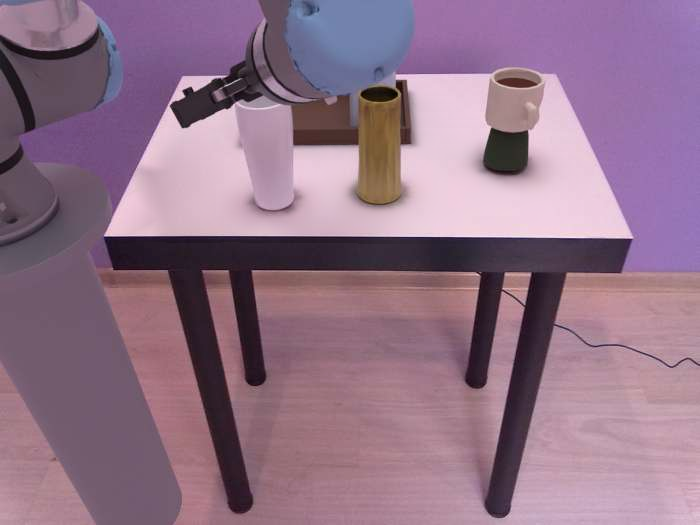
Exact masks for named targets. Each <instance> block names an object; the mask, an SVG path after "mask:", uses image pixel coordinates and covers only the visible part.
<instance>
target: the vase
mask: <svg viewBox="0 0 700 525" xmlns="http://www.w3.org/2000/svg"><path fill="white" fill-rule="evenodd" d="M400 109H401V93H400V91H399V90H398V89H397V88H395V87H392V86H388V85H373V86H371V87H368V88H366V89H363V90H361V91H359V93H358V129H359V144H358V168H357V170H358V172H357V185H356V194H357V196H358V197H359V198H360V200H362V201H364V202H367V203H369V204H374V205H383V204H389V203H393V202H394V201H396V200H398V199H399V198H400V196H401V195H402V192H403V186H402V179H401V178H402V177H401V176H402V172H401V171H402V159H401V158H402V157H401V156H402V152H401V151H402V147H401V146H402V144H401V140H400Z"/></svg>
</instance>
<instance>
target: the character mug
mask: <svg viewBox="0 0 700 525" xmlns="http://www.w3.org/2000/svg"><path fill="white" fill-rule="evenodd" d="M545 86H546V77H545V75H544V74H542V73H541V72H539V71H536V70H534V69H531V68H525V67H516V66H515V67H504V68H503V67H502V68H500V69H496V70H495V71H493V72H492V73H491V74H490V77H489V81H488V88H487V89H488V90H487V98H486V108H485V115H484V116H485V118H484V119H485V122H486V124H487V125H488V126H489V127H491V128H490V129H489V133H488V137H487V140H486V144H485V148H484V152H483V159H482V162H483V164H485V166H486V167H487V168H490V169H492V170H496V171H503V172H504V171H505V172H507V171H509V172H511V171H519V170H524V169H525V168H526V167H527V166H528V163H529V142H530V141H529V140H530V135H529V131H533V129H535V126H536V125H537V124H538V123H539V121H540V107H541V104H542V102H543V99H544V93H545Z"/></svg>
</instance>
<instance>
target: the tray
mask: <svg viewBox="0 0 700 525" xmlns="http://www.w3.org/2000/svg"><path fill="white" fill-rule="evenodd" d="M396 88H397V89H398V90H399V91H400V93H401V109H400V140H401V145H410V144H411V140H412V124H411V123H412V122H411V121H412V120H411V113H410V112H411V111H410V101H409V89H408V79H396ZM291 108H292V117H293V146H295V145H305V146H306V145H359V129H358V127H351V126H350V97H349V96H337V101H336V102H335V103H333V104H331V105H328V104H327V103H326V102H325V100H324V99H319V100H315V101H313V102H309V103H305V104H301V105H293V106H291Z"/></svg>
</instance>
